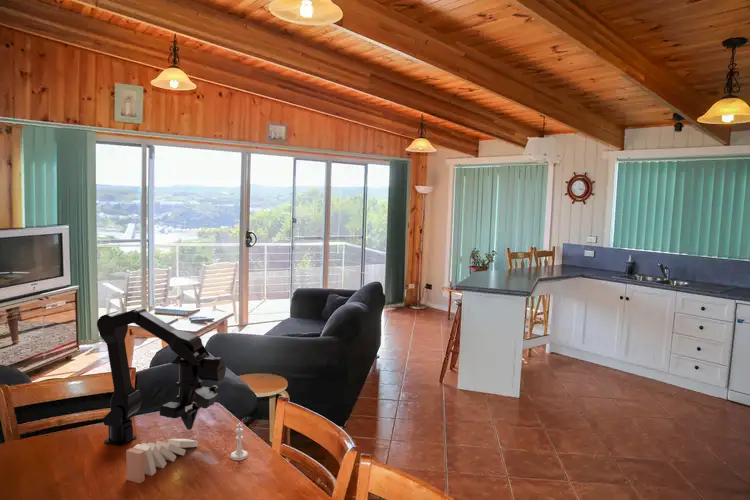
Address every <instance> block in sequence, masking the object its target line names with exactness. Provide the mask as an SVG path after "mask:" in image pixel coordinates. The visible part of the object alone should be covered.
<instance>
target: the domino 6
mask: <svg viewBox="0 0 750 500" xmlns="http://www.w3.org/2000/svg"><path fill="white" fill-rule="evenodd" d="M167 443H170V444H172V445H175V446H177V447H180V448H182V449H183V448H197V447H198V443H199V441H198V440H192V439H189V438H168V439H167Z"/></svg>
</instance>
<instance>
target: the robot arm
mask: <svg viewBox="0 0 750 500" xmlns="http://www.w3.org/2000/svg"><path fill="white" fill-rule="evenodd" d="M130 324H134V325H136V326H139V328H141V329H143V330H145V331H147V332H148V333H150V334H151V335H153V336H155V337H156V338H158V339H159V340H161V341H163V342H165V343H166V345H168V346H169V348H170V350H171V351H172V352H173V353H174V354H176V358H174V359H173V360H172V362H171V364H172V365H178V381H177V382H175V387H178V395H176V396H175V401H176V400H177V401H179V402H174V401H168V402H167V403H165V404H163V405H161V407H159V416H161V417H165V418H170V419H178V418H180V419H181V421H182V422H183V424H184V426H185V428H186V430H188V431H191V430H192V429H193V426H194V423H195V420H196V418H197V414H198V413H199V410H200V409H208V408H209V407H211V406H213V405H214V404H215V402H216V399H218V398H220V396H219V393H220V390H219V389H220V388H219V386H217V385H212V386H210V387H209V386H204V381H210V382H222V381H223V380H224V378H225V376H226V371H227V368H226V363H225V362H224V361H223V357H220V356H218V357H213V356H212V357H210V356H211V355H210V353H209V352H208V350H207V349H206V347H205V346H204V344H203V339H202V338H201V337H200V336H198V335H197V334H194V333H191V332H189V331H183V330H180V329H177V328H175V327H173V326H172V325H171V324H169V323H167V322H165V321H164V320H162V319H160V318H159V317H157V316H156V315H153V314H152V313H150V312H148V311H147V310H146V308H144V307H137V308H134V309H132V310H129V311H125V312H122V311H120V310H116V311H113V312H109V313H106V314H103V315H101V316H100V317H99V318H98V319H97V321H96V326H97V327H96V328H97V331H98V333H99V336H100V338H101V339H102V340H103V341H104V342H105V344H106V347H107V348H106V349H107V352H108V353H107V354H108V360H109V366H110V372H111V380H112V385H113V394H112V396H111V400H110V411H109V412H108V413H106V415H105V416H104V417H103V418H102V422H103V424H104V426H106V427H107V429H108V430H107V431H108V438H107V439H105V440H104V443H107V444H110V445H113V446H114V445H115V446H119V447H120V446H122V445H124V444H126V443H128V442H130V441H133V440H134V439H136V438H137V435H134V426H133V419H132V418H133V417H135V416H136V414H137V412H138V411H139V410H140V408H141V406H142V403H143V402H144V401H143V399H142V397H141V396H142V395H141V390H140V389H135V387H134V386H133V385H132V380H131V373H130V365H129V360H128V354H127V353H128V352H127V348H126V337H127V334H128V330H129V325H130ZM196 354H197V355H196ZM195 355H196V356H195ZM200 379H201V380H200Z"/></svg>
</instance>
